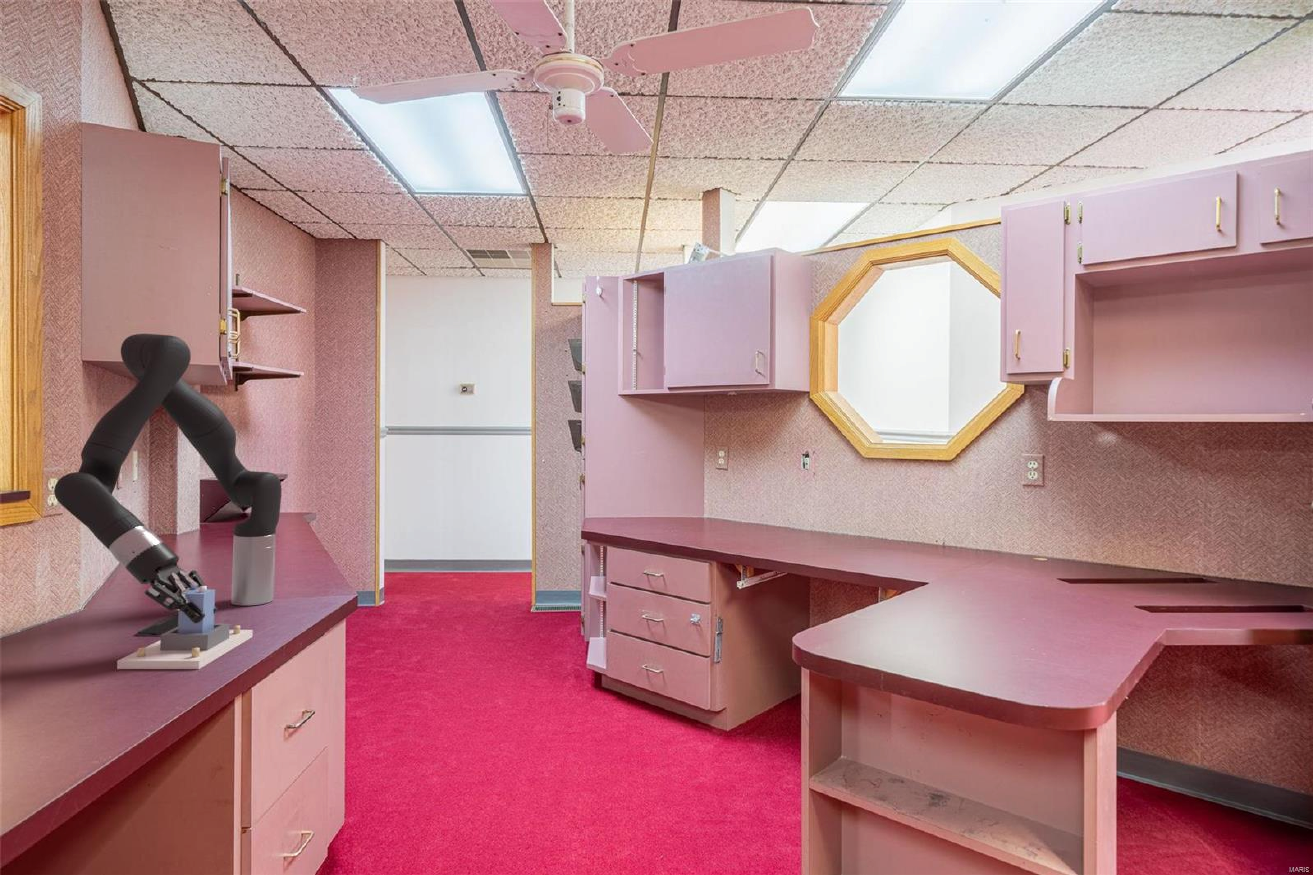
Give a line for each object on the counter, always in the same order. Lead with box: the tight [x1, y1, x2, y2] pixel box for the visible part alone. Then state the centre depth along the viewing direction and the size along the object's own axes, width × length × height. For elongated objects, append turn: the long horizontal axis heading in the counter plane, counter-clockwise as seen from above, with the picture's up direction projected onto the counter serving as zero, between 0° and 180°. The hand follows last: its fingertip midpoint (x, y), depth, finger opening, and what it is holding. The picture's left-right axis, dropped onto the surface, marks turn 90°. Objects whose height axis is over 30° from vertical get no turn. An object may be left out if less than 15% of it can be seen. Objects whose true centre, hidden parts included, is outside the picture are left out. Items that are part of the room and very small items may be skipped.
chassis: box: [116, 622, 254, 670], centre depth 134 cm, size 20×14×4 cm
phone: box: [137, 613, 179, 637], centre depth 151 cm, size 8×1×15 cm
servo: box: [178, 585, 216, 633], centre depth 134 cm, size 4×4×10 cm
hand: (207, 616), depth 134 cm, fingers closed on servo, 4 cm apart
